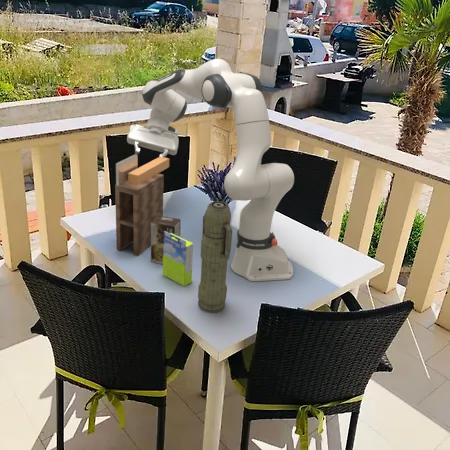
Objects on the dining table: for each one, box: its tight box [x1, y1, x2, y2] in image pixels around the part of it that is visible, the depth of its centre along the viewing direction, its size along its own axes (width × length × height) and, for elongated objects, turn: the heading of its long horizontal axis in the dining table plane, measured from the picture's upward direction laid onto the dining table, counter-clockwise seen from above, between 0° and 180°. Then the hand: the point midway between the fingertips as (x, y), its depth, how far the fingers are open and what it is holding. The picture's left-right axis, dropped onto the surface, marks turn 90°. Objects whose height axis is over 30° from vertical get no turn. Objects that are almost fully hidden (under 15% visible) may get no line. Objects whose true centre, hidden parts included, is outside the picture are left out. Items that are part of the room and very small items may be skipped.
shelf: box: [114, 173, 165, 257], centre depth 192 cm, size 18×9×26 cm, turn 156°
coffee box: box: [150, 215, 181, 265], centre depth 185 cm, size 9×6×16 cm
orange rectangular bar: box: [128, 156, 170, 185], centre depth 191 cm, size 22×4×4 cm, turn 156°
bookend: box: [115, 153, 139, 186], centre depth 184 cm, size 12×1×8 cm, turn 156°
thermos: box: [197, 200, 233, 313], centre depth 158 cm, size 9×12×35 cm
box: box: [162, 231, 194, 287], centre depth 174 cm, size 10×4×17 cm, turn 51°
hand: (148, 155), depth 201 cm, fingers open, 8 cm apart
